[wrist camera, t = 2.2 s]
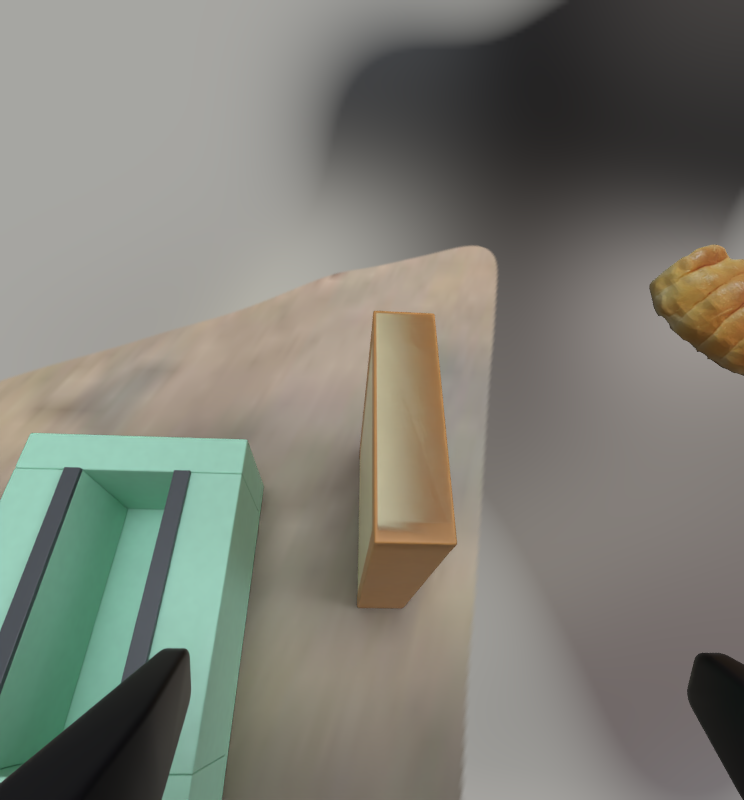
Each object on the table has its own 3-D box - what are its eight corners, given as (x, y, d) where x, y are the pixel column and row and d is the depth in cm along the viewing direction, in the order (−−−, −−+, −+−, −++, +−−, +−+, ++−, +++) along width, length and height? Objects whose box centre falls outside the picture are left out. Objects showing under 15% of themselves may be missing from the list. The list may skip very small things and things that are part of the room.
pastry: (807, 366, 29) (865, 326, 26) (736, 403, 27) (790, 365, 24) (695, 272, 33) (733, 227, 30) (627, 298, 32) (660, 254, 28)
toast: (403, 608, 20) (457, 544, 11) (356, 607, 20) (374, 543, 11) (398, 451, 24) (434, 312, 15) (359, 450, 24) (373, 310, 15)
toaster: (221, 806, 16) (178, 851, 12) (-65, 810, 16) (-223, 858, 11) (264, 485, 23) (246, 436, 18) (62, 480, 22) (-5, 428, 18)
